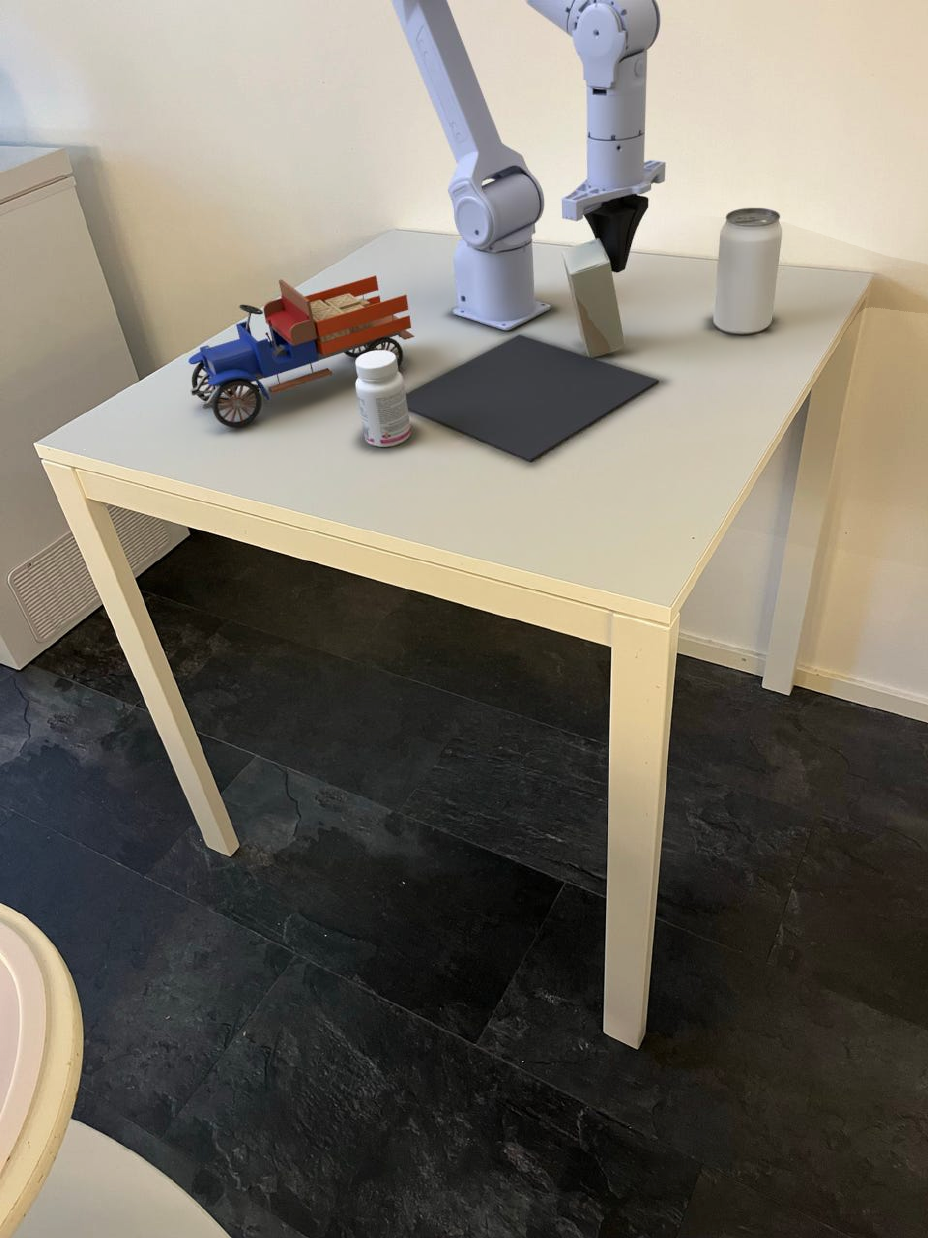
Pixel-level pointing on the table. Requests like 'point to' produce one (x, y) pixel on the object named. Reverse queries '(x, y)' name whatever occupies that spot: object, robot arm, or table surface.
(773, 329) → the table surface
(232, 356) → the toy truck
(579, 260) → the box
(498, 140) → the robot arm
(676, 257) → the table surface
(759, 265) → the can
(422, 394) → the mat
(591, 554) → the table surface
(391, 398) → the pill bottle
